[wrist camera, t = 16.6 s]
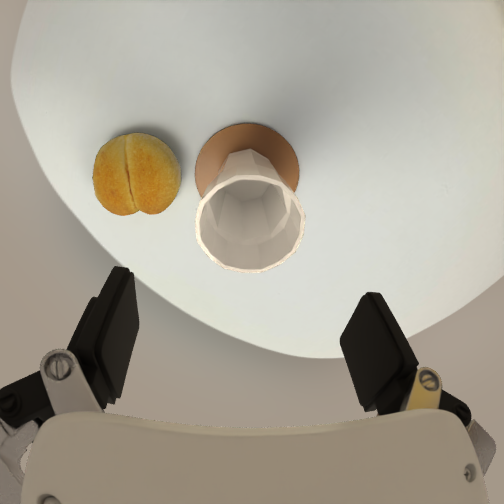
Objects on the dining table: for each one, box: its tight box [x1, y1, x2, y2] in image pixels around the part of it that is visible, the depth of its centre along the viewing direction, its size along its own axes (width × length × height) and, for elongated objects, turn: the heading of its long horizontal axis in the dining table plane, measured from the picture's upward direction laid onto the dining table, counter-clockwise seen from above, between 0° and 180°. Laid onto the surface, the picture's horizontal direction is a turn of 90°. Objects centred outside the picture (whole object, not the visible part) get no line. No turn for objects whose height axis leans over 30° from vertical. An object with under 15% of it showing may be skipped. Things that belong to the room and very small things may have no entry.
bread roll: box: [92, 133, 181, 216], centre depth 24 cm, size 8×9×4 cm
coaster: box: [195, 123, 299, 197], centre depth 26 cm, size 10×10×1 cm
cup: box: [195, 148, 305, 273], centre depth 21 cm, size 7×7×11 cm
